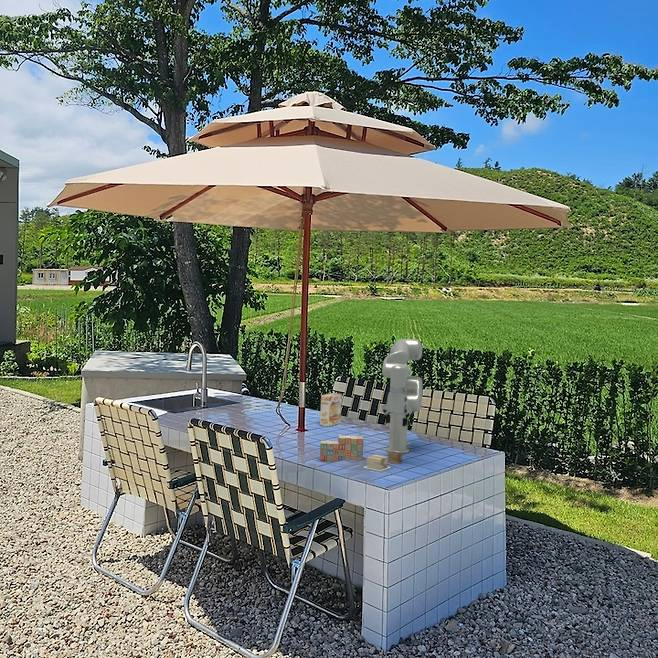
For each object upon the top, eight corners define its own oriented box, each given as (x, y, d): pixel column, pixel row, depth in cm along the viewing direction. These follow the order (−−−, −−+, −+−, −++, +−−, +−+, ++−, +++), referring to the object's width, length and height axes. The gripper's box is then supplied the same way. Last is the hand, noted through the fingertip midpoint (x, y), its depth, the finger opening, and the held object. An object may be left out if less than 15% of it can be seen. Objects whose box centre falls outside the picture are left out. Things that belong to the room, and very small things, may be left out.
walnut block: (393, 462, 348) (393, 451, 348) (401, 464, 345) (402, 452, 345) (387, 464, 344) (388, 452, 344) (396, 466, 341) (397, 454, 341)
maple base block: (374, 464, 338) (375, 454, 337) (387, 467, 334) (387, 457, 333) (366, 467, 332) (367, 457, 332) (379, 470, 328) (379, 459, 328)
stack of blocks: (320, 461, 345) (320, 437, 345) (319, 458, 352) (320, 434, 351) (362, 462, 346) (363, 438, 346) (361, 459, 353) (362, 435, 352)
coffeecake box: (329, 427, 432) (330, 396, 431) (319, 425, 436) (320, 395, 435) (341, 423, 445) (342, 393, 444) (331, 422, 448) (332, 392, 447)
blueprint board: (372, 464, 343) (372, 461, 343) (396, 469, 334) (397, 467, 334) (356, 469, 331) (356, 467, 331) (381, 475, 323) (381, 472, 323)
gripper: (416, 391, 340) (415, 426, 341) (386, 387, 350) (385, 421, 351) (408, 393, 334) (407, 428, 335) (378, 389, 344) (377, 423, 345)
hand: (396, 424), depth 343 cm, fingers open, 9 cm apart
